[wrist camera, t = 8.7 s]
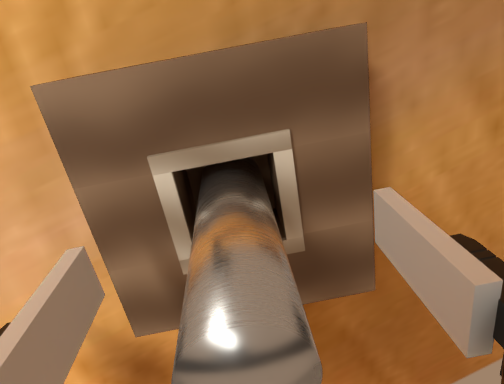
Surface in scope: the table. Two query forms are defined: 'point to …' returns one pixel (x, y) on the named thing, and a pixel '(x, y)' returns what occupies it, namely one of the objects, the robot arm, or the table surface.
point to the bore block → (222, 160)
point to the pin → (241, 290)
